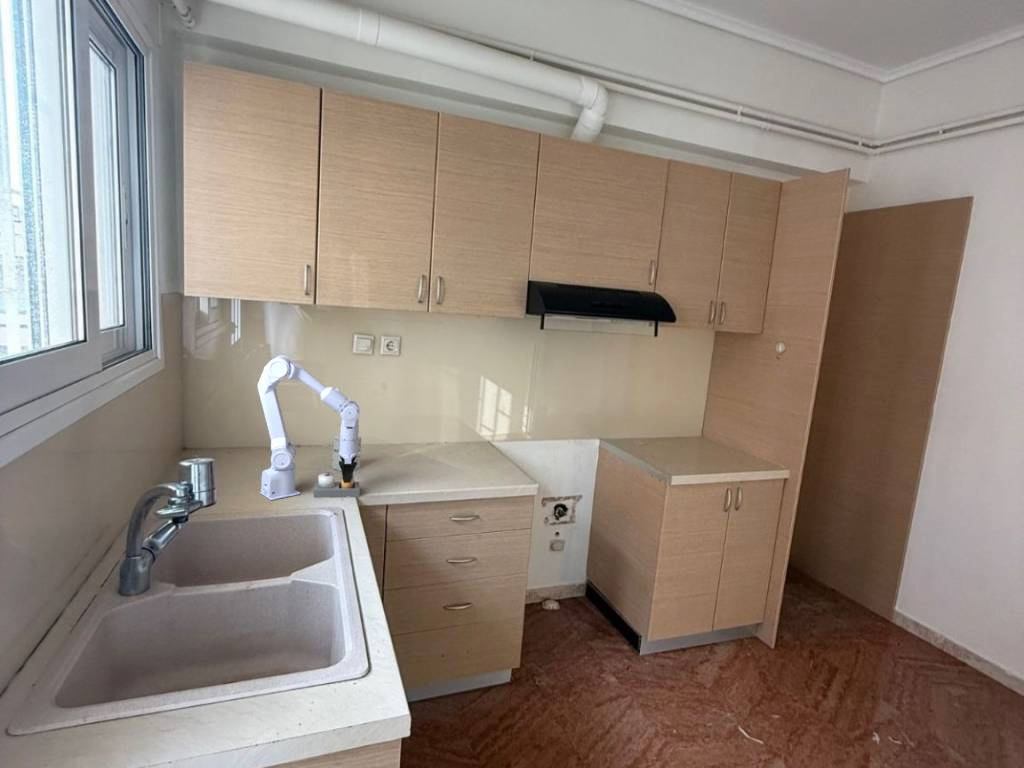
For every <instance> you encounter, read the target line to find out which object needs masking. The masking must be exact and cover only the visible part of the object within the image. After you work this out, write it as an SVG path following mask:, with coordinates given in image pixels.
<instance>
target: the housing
mask: <svg viewBox="0 0 1024 768" xmlns="http://www.w3.org/2000/svg"><path fill="white" fill-rule="evenodd" d="M317 479H318V481H315V483H314V488H313V498H314V497H330V498H348V497H347V496H351V497H350V498H360V481H353V488H341V482H342V481H336V474H334V473H330V472H329V471H324V472H323V473H320V474H318V477H317Z"/></svg>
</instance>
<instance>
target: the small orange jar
mask: <svg viewBox="0 0 1024 768" xmlns="http://www.w3.org/2000/svg"><path fill="white" fill-rule="evenodd" d="M340 475H341V476H340V479H341V481H340V482H341V488H353V482H354V478H355V476H354V474H352V479H351V482H350V483H344V482H343V476H342V474H340Z"/></svg>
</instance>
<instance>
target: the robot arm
mask: <svg viewBox="0 0 1024 768" xmlns="http://www.w3.org/2000/svg"><path fill="white" fill-rule="evenodd" d="M287 376H288V378H287V380H296V381H297V380H299V382H301V383H303V384H304V385H305V386H307V387H309V388H310V389H311V390H313V391H314V392H316V393H317V394H318V395H320V401H321V402H322V403H324V404H325V405H326V406H327V407H329V408H330V409H332V410H333V411H334V412H336V413H337V414H339V415H340V417H341V424H340V428H339V429H340V432H339V435H340V448H339V455H340V458H341V460H342V461H339V466H340V468H341V471H340V472H341V475H342V476H343V482H344V483H350V482H351V479H352V474H353V473H354V471H355V470H354V469H355V467H356V465H357V462H354V460H355V458H356V457H357V455H360V456H361V455H362V450H361V451H358V437H359V429H360V425H359V422H360V420H359V418H360V416H361V413H360V411H361V409H360V406H359V404H358V403H357V401H355V400H352V398H351V397H347V396H345V395H344V393H342V392H341V389H340V388H339V387H336V388H335V387H334V386H326V385H325V384H324V383H323V382H321V381H320V379H318V378H316V376H314V375H313V374H312V373H310V372H309V371H308V370H307V369H306V368H305V367H303V366H302V365H300V364H299V363H298V362H295V361H294V360H292V359H291V358H290V357H288V356H286V355H278V356H276V357H275V358H273V359H271V360H270V361H269V362H267V364H266V365H265V366H264V368H263V370H262V373H261V376H260V378H259V381H258V382H257V390H258V391H257V392H258V395H259V398H260V403H261V405H262V406H261V407H262V410H263V415H264V418H265V422H266V425H267V429H268V434H269V438H270V450H271V456H270V463H271V465H270V467H269V468H267V469H264V470H262V472H261V482H260V483H261V486H260V488H261V489H260V493H259V494H261V495H262V496H264V497H265V498H266V499H268V500H269V501H274V500H279V499H284V498H289V497H293V496H298V495H301V492H300V491H298V490H296V463H295V462H294V459H295V457H296V455H297V449H296V447H295V446H294V445H293V444H292V442H291V439H290V437H289V435H288V432H287V428H286V425H285V420H284V416H283V412H282V409H281V408H282V407H281V404H280V400H279V396H278V392H277V386H278V385H279V384H280V382H281V381H282V380H284V379H285V378H286V377H287ZM353 475H354V474H353Z"/></svg>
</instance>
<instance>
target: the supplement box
mask: <svg viewBox="0 0 1024 768" xmlns="http://www.w3.org/2000/svg"><path fill="white" fill-rule="evenodd" d="M339 448H340V434H339V435H334V436H333V449H332V463H331V465H332V466H331V468H332V470H333V469H334V470H337V471H340V472H342V471H341V468H340V466H339V461H342V460H341V458H340V455H339ZM361 449H362V437H361V436H358V451H361V452H362V450H361ZM354 462H357V465H356V467H355V469H354V471H355V470H359V469H360V465H361V454H360V455H357V457H356V458H355V460H354Z"/></svg>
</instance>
